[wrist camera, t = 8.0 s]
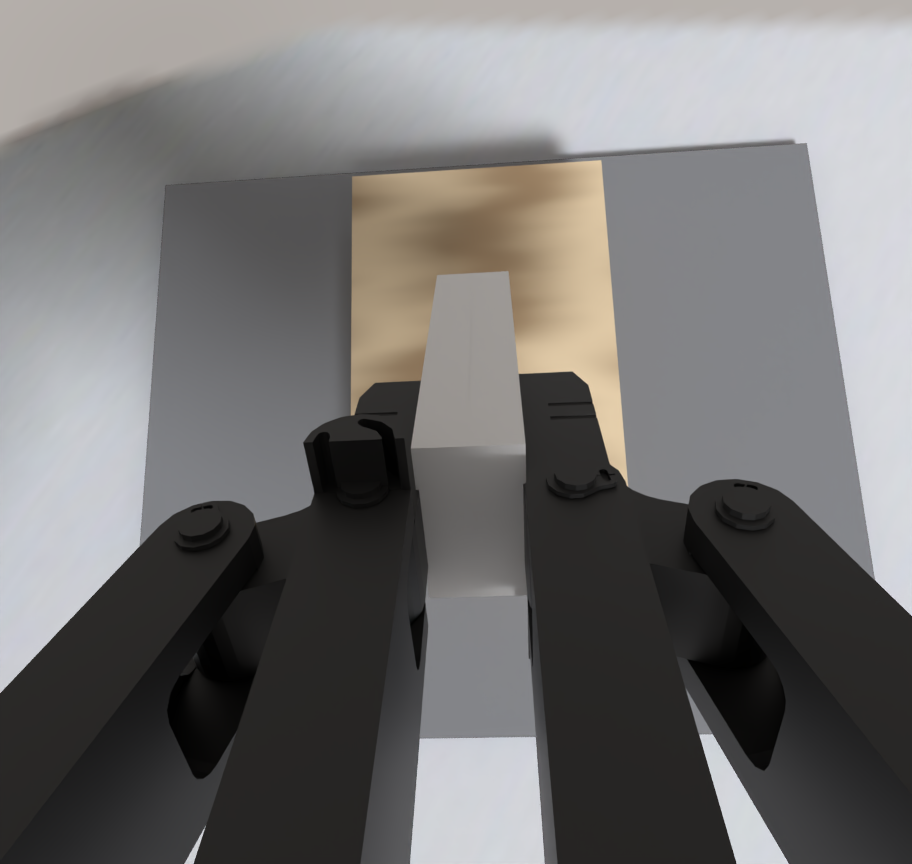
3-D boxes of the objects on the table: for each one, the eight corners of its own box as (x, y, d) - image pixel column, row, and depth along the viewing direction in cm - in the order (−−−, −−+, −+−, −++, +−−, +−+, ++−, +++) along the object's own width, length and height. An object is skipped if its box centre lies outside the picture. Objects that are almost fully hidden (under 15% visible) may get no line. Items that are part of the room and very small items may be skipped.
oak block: (349, 551, 20) (352, 176, 23) (371, 555, 23) (371, 227, 26) (632, 542, 19) (601, 160, 22) (614, 548, 23) (589, 214, 25)
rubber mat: (135, 739, 23) (125, 742, 22) (172, 193, 27) (165, 185, 27) (888, 727, 22) (898, 731, 21) (800, 152, 26) (806, 143, 25)
